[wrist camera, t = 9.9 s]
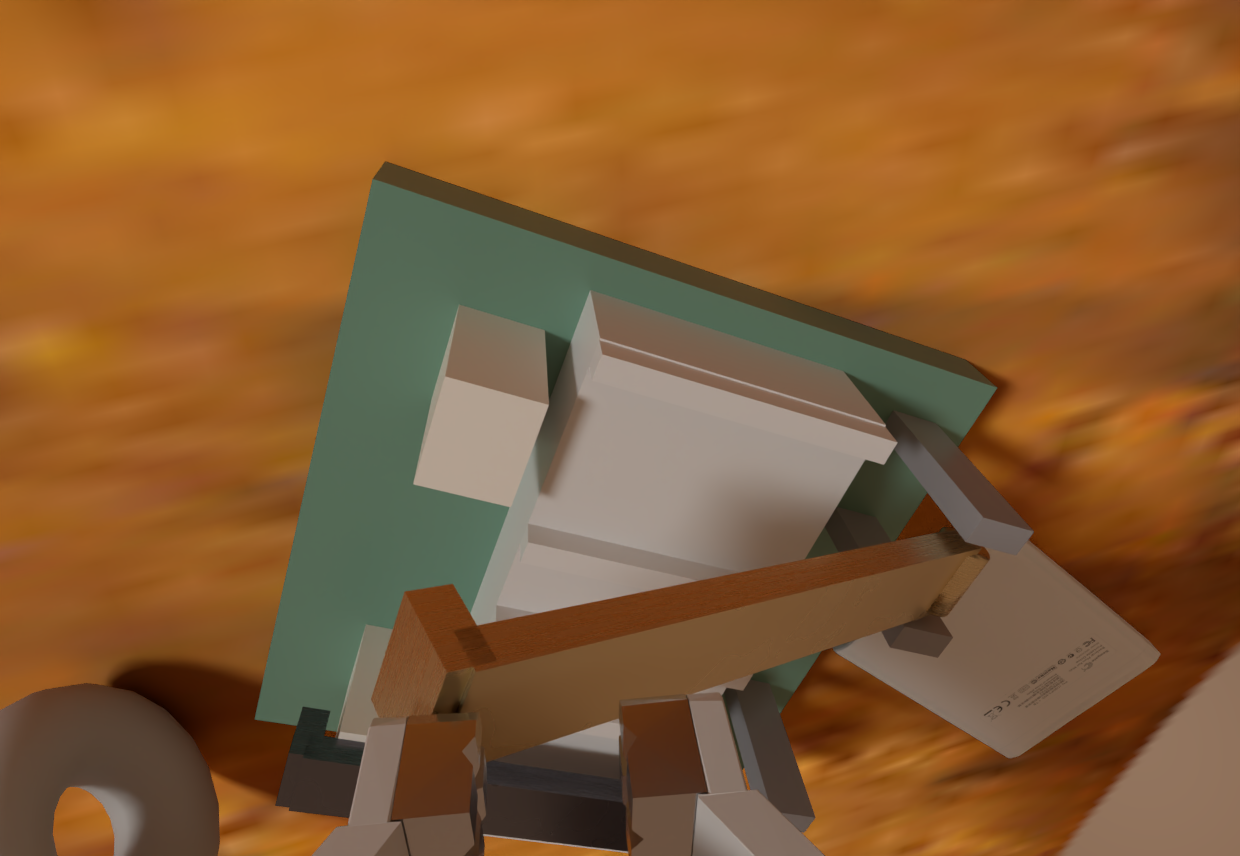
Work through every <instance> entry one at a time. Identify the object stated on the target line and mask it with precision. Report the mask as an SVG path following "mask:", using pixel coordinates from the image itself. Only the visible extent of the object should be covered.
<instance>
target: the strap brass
mask: <svg viewBox="0 0 1240 856" xmlns="http://www.w3.org/2000/svg"><path fill="white" fill-rule="evenodd" d="M989 560H990V555H989V553H988V551H987V550H986V549H985V547H982V546H978V545H975V544H971V543H967V542H965V541H964V539H963V538H962V537H961V535H960V534H959V533H958V531H957V530H956V529H955V528H951V527H943V528H942V529H941V530H940V531H939V532H938V533H933V534H928V535H923V536H918V537H913V538H908V539H903V540H898V541H893V542H888V543H883V544H878V545H873V546H868V547H863V548H858V549H853V550H848V551H844V552H839V553H834V554H829V555H824V556H819V557H814V558H809V559H804V560H799V561H794V562H789V563H784V564H779V565H774V566H769V567H764V568H759V569H754V570H749V571H744V572H740V573H735V574H730V575H725V576H720V577H715V578H710V579H705V580H700V581H695V582H690V583H685V584H680V585H675V586H670V587H665V588H660V589H655V590H650V591H645V592H640V593H636V594H631V595H626V596H621V597H616V598H611V599H606V600H601V601H596V602H591V603H586V604H581V605H576V606H571V607H566V608H561V609H556V610H551V611H546V612H541V613H536V614H532V615H527V616H522V617H517V618H512V619H507V620H502V621H497V622H492V623H487V624H482V625H477V624H476V623H475V621H474V619H473V618H472V616H471V614H470V612H469V611H468V609H467V607H466V605H465V604H464V602H463V600H462V599H461V597H460V595H459V593H458V592H457V590H456V588H455V587H454V585H453V584H449V585H442V586H436V587H430V588H424V589H417V590H411V591H405V592H404V595H403V598H402V601H401V605H400V608H399V611H398V614H397V617H396V620H395V624H394V627H393V630H392V633H391V636H390V640H389V643H388V646H387V649H386V652H385V656H384V659H383V662H382V665H381V668H380V672H379V675H378V678H377V681H376V684H375V687H374V691H373V694H372V697H371V701H372V703H373V705H374V708H375V710H376V712H377V715H378V717H379V718H383V717H398V716H412V715H432V714H452V713H471V712H480V718H481V724H482V737H481V745H482V746H483V747H484V748H485V755H486V762H489V761H492V760H495V759H498V758H501V757H504V756H507V755H510V754H513V753H516V752H519V751H522V750H525V749H528V748H531V747H534V746H537V745H540V744H543V743H546V742H549V741H552V740H555V739H558V738H561V737H564V736H567V735H570V734H573V733H576V732H579V731H582V730H585V729H588V728H591V727H594V726H597V725H600V724H603V723H606V722H609V721H612V720H615V719H618V718H619V701H620V700H624V699H635V698H646V697H657V696H667V695H678V694H684V695H687V694H694V693H697V692H700V691H703V690H706V689H709V688H712V687H715V686H718V685H721V684H724V683H727V682H730V681H733V680H736V679H739V678H742V677H745V676H748V675H751V674H754V673H757V672H760V671H763V670H766V669H769V668H772V667H775V666H778V665H781V664H784V663H787V662H790V661H793V660H796V659H799V658H802V657H805V656H808V655H811V654H814V653H817V652H820V651H823V650H826V649H829V648H832V647H835V646H838V645H841V644H844V643H847V642H850V641H854V640H857V639H860V638H863V637H866V636H869V635H872V634H875V633H878V632H881V631H884V630H887V629H890V628H893V627H896V626H899V625H902V624H905V623H908V622H911V621H914V620H917V619H920V618H923V617H926V616H929V615H934V616H938V617H946V616H948V615H949V614H950V612H951V611H952V610H953V608H954V607H955V606H956V604H957V603H958V602H959V600H960V599H961V598H962V596H963V595H964V594H965V592H966V591H967V590H968V588H969V587H970V586H971V584H972V583H973V582H974V580H975V579H976V578H977V576H978V575H979V573H980V572H981V571H982V569H983V568H984V567H985V565H986V564H987V563H988V561H989Z"/></svg>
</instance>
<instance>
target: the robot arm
mask: <svg viewBox="0 0 1240 856" xmlns="http://www.w3.org/2000/svg"><path fill="white" fill-rule="evenodd" d="M619 724H620V733H621V735H620V736H619V768H620V781H621V791H622V801H623V804H624V805H625V806H626V837H627V846H628V854H629V856H825V855H824V854H823V853H822V852H821V851H820V850H819V849H818V848H817V847H816V846H814V845H813V844H812V843H811V842H810V841H809V840H808V839H807V838H806V837H805V836H804V835H803V834H802V833H801V832H800V831H799V830H798V829H797V828H796V827H795V826H794V825H793V824H792V823H791V822H790V821H789V820H788V819H787V818H786V817H785V816H784V815H783V814H782V813H781V812H780V811H779V810H778V809H777V808H776V807H775V806H774V805H773V804H772V803H771V802H770V801H769V800H768V799H767V798H766V797H764V796H763V795H762V794H761V793H760V792H759V791H758V790H747V786H746V783H745V779H744V775H743V771H742V768H741V764H740V760H739V756H738V753H737V749H736V745H735V741H734V738H733V734H732V730H731V726H730V723H729V719H728V715H727V711H726V708H725V704H724V700H723V697H722V696H721V695H720V693H719V692H713V693H700V694H687V695H684V694H678V695H667V696H657V697H646V698H635V699H624V700H620V701H619ZM481 737H482V724H481V718H480V712H471V713H452V714H432V715H412V716H398V717H383V718H373V720H372V722H371V724H370V726H369V728H368V732H367V737H366V742H365V746H364V751H363V756H362V760H361V765H360V770H359V774H358V779H357V784H356V789H355V793H354V798H353V803H352V807H351V812H350V817H349V821H348V826H340V827H336V828H335V829H334V831H333V832H332V833H331V834H330V835H329V836H328V838H327V839H326V840H325V841H324V842H323V843H322V844H321V846H320V847H319V848H318V849H317V850H316V851H315V853H314V854H313V855H312V856H484V847H485V845H484V837H483V829H482V822H481V821H482V820H483V819H484V817H485V816H486V807H487V767H486V755H485V748H484V747H483V746H482V745H481Z"/></svg>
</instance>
